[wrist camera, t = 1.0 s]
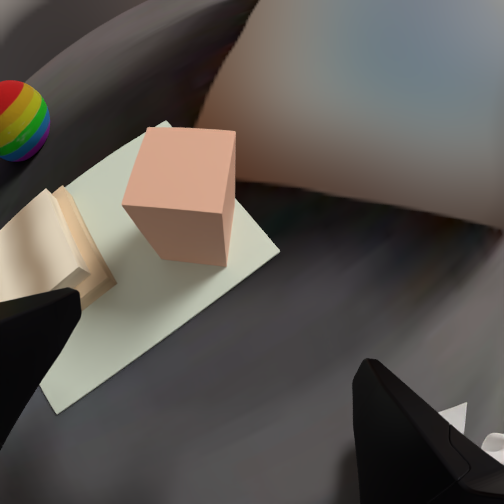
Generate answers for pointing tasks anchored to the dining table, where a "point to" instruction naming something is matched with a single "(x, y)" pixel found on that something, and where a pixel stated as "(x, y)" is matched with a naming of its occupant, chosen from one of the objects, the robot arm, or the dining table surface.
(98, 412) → the dining table surface
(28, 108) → the decorative egg
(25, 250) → the stepped square platform
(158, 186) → the terracotta brick
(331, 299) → the dining table surface
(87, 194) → the baseplate
